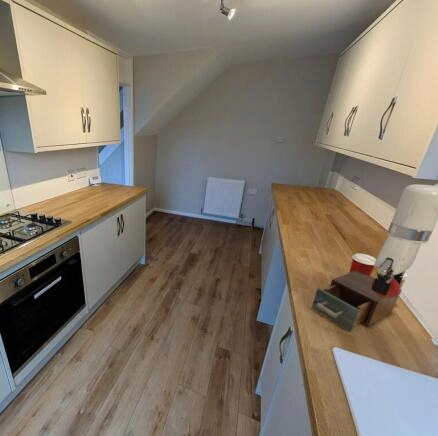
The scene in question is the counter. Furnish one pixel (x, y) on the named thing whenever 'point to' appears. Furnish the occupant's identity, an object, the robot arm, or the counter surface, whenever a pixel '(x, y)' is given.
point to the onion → (390, 289)
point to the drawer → (342, 306)
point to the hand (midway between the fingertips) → (384, 289)
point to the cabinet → (367, 294)
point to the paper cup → (363, 263)
